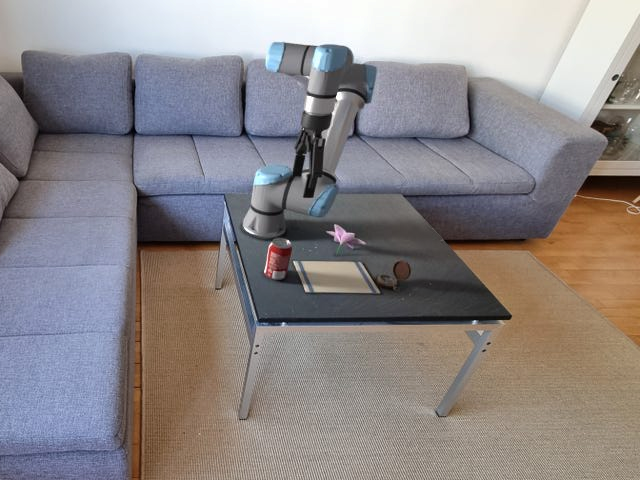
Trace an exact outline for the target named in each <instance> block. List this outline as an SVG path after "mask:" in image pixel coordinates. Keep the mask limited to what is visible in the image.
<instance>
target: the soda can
mask: <svg viewBox="0 0 640 480" xmlns="http://www.w3.org/2000/svg"><path fill="white" fill-rule="evenodd" d="M292 252H293V246H292V242H291V241H290V240H289V239H287V238H284V237H280V238H275V239H272V240H271V242H270V243H269V245H268V250H267V254H266V260H265V265H264V272H263V273H264V276H266V277H267V278H268V279H271V280H273V281H281V280H283V279H286V277H287V276H288V275H287V274H288V270H289V265H290V261H291V257H292Z"/></svg>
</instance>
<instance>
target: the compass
mask: <svg viewBox="0 0 640 480" xmlns="http://www.w3.org/2000/svg"><path fill="white" fill-rule="evenodd" d="M411 273H412V268H411V265H410V263H408V261H406V260H405V259H401V260H396V261H395V262H394V263H393V265H392V275H393V276H392V275H389V274H379V275H377V276H376V278H375V282H376V283H377V284H378V285H379V286H380V287H382V288H385V289H391V290H394V291H397V292H399V291H400V290H401V289H400V288H399V287H398V286H399V281H406V280H408V279H409V278H410V276H411ZM396 289H397V290H396Z"/></svg>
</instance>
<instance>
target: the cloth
mask: <svg viewBox="0 0 640 480" xmlns="http://www.w3.org/2000/svg"><path fill="white" fill-rule="evenodd" d="M292 262H293V265H294V267H295V269H296V271H297V272H296V273H297V274H298V277H299V279H300V281H301V284H302V286H303V288H304V291H305V293H306V294H307V293H310V294H311V293H313V294H314V293H316V294H372V295H373V294H379V295H380V294H381V291H380V290H379V288H378V286H377V285H376V284H375V282H374V281H373V279H372V277H371V276H370V274H369V272H368V270H367V269H366V268H365V266H364V265H363V263H362V261H328V260H327V261H325V260H324V261H322V260H321V261H319V260H318V261H317V260H314V261H313V260H293V261H292Z"/></svg>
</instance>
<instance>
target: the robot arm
mask: <svg viewBox="0 0 640 480" xmlns="http://www.w3.org/2000/svg"><path fill="white" fill-rule="evenodd" d="M354 56H355V55H354V53H353V51H352V49H351V48H349V46H346V45H340V44H333V43H331V44H330V43H325V44H320V45H313V44H301V43H292V42H285V41H273V42H272V43H271V44H270V45H269V46H268V49H267V51H266V55H265V69H266V70H267V72H273V73H276V74H277V73H278V74H279V73H280V74H284V75H285V76H288V77H289V78H291V79H292V80H294V81H295V82H296V83H297V85H298V86H299V87H300V88H301V89H303V90H305V91H306V93H305V98H304V101H303V111H302V113H301V119H300V126H301V129H300V131H299V134H298V136H297V139H296V142H295V144H294V147H293V149H294V150H295V152H294V153H295V156H294V162H293V166H292V169H291V167H288V166H287V165H282V164H271V165H265V166H262V167H260V168H259V169H257V171H256V172H255V175H254V180H253V183H252V184H253V186H252V193H251V200H250V208H249V209H248V211H247V213H246V214H245V217H244V219H243V220H242V227H241V228H242V230H243V231H244V233H245V234H246V235H248V236H250V237H252V238H254V239H258V240H263V241H270V240H271V241H272V240H273V239H275V238H283V236H284V235H285V233H286V229H287V225H286V220H285V213H284V212H285V210H286V211H290V212H294V213H298V214H301V215H305V216H307V217H314V218H324V217H325V216H326V215H328V213H329V211H330V210H331V209H332V207H333V205H334V203H335V201H336V197H337V195H338V193H339V190H340V185H339V184H337V177H336V175H335V173H336V170H337V167H338V165H339V161H340V159H341V156H342V154H343V151H344V148H345V146H346V143H347V140H348V137H349V134H350V132H351V129H352V126H353V124H354V122H355V118H356V116H357V113H358V112H360V111H362V110H364V108H365V105H368V104H371V103H372V100H373V95H374V90H375V86H376V80H377V73H378V69H377V67H376V65H372V64H366V63H358V62H357V63H356V62H354V60H355V58H354ZM307 154H308V166H307V167H305V168H304V166H305V161H306V155H307Z"/></svg>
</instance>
